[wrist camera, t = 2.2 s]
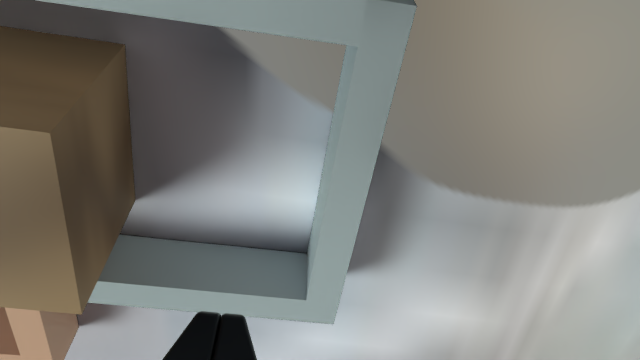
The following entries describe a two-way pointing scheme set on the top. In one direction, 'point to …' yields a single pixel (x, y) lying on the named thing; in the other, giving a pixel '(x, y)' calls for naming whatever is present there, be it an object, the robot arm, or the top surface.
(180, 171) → the top surface
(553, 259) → the top surface
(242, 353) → the robot arm
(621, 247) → the top surface
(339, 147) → the trap box
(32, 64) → the block
